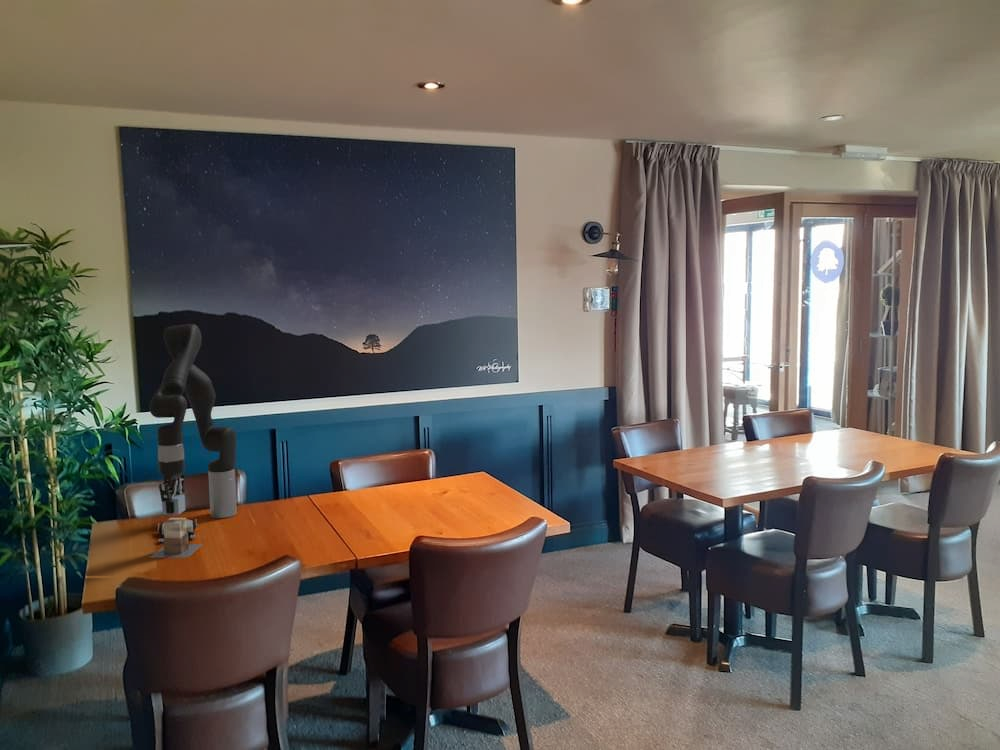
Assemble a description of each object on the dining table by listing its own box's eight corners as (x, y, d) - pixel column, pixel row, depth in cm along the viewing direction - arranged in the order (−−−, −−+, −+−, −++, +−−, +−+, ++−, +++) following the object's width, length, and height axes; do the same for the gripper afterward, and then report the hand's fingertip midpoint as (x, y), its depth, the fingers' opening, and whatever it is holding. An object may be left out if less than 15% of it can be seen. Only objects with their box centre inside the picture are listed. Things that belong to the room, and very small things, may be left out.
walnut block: (171, 547, 240) (170, 532, 240) (188, 547, 240) (187, 532, 240) (164, 553, 235) (163, 538, 234) (181, 553, 235) (180, 538, 234)
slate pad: (166, 546, 244) (166, 544, 243) (202, 546, 244) (202, 544, 243) (149, 560, 232) (148, 557, 231) (187, 559, 232) (187, 557, 232)
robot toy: (197, 545, 248) (197, 528, 262) (196, 532, 247) (196, 516, 261) (157, 550, 244) (158, 533, 257) (156, 537, 243) (158, 520, 256)
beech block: (171, 533, 239) (170, 517, 239) (186, 532, 239) (186, 517, 239) (164, 538, 234) (163, 522, 234) (180, 538, 234) (179, 522, 234)
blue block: (169, 509, 239) (169, 494, 238) (185, 509, 239) (184, 494, 238) (162, 514, 234) (161, 498, 233) (178, 514, 234) (177, 498, 233)
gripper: (169, 453, 241) (172, 504, 243) (148, 463, 227) (151, 517, 229) (192, 453, 241) (195, 504, 243) (173, 463, 227) (176, 517, 229)
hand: (174, 510), depth 236 cm, fingers closed on blue block, 5 cm apart
